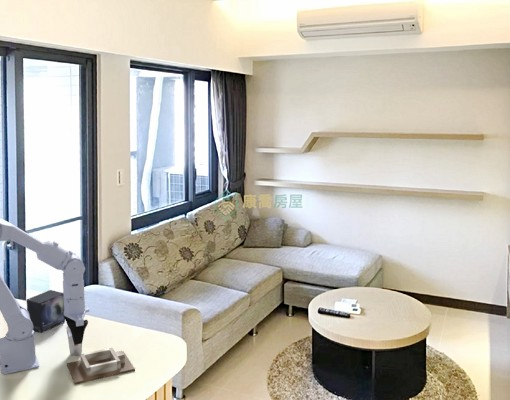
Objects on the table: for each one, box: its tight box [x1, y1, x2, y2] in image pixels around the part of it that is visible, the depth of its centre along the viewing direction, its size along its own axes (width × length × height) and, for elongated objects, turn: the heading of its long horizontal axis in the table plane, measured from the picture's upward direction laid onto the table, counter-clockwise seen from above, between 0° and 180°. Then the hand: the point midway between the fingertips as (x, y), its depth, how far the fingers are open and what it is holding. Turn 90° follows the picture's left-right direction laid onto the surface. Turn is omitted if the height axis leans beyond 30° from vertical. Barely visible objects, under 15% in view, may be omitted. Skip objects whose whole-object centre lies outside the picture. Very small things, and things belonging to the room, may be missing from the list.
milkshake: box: [65, 325, 83, 357], centre depth 160 cm, size 4×5×10 cm
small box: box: [26, 289, 66, 334], centre depth 179 cm, size 11×6×10 cm, turn 155°
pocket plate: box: [66, 347, 136, 385], centre depth 152 cm, size 16×12×3 cm
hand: (76, 340), depth 160 cm, fingers closed on milkshake, 4 cm apart
